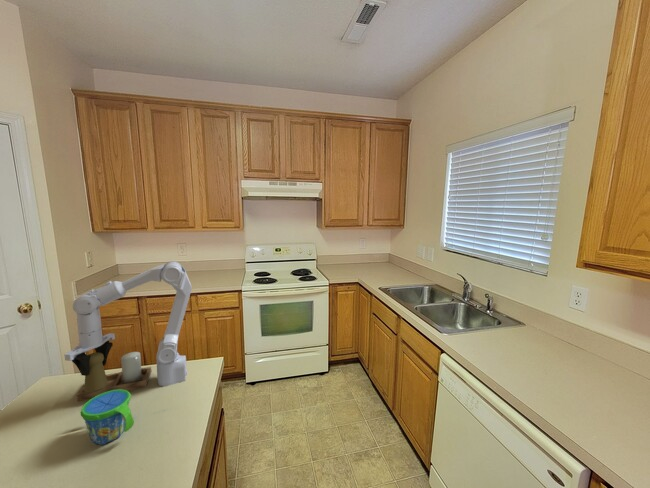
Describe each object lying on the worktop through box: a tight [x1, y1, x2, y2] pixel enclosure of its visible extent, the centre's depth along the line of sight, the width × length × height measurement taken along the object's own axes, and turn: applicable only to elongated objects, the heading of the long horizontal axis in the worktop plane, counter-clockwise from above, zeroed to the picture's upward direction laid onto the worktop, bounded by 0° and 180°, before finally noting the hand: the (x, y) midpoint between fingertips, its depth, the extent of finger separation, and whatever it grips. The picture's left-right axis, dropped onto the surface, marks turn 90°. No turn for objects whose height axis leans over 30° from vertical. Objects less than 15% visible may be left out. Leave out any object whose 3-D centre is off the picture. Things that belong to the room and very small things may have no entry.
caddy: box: [76, 366, 152, 402], centre depth 96 cm, size 19×10×3 cm, turn 113°
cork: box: [83, 351, 108, 392], centre depth 89 cm, size 6×6×11 cm
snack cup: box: [80, 389, 135, 446], centre depth 75 cm, size 16×10×10 cm
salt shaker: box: [120, 351, 142, 384], centre depth 98 cm, size 6×6×10 cm
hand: (93, 369), depth 89 cm, fingers closed on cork, 5 cm apart
